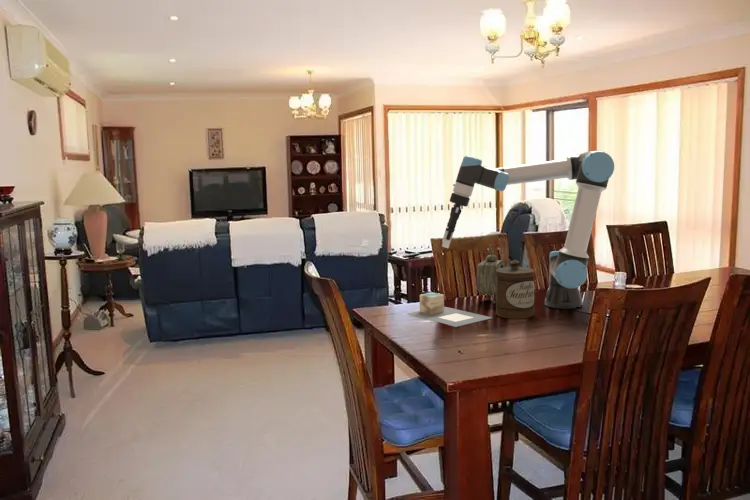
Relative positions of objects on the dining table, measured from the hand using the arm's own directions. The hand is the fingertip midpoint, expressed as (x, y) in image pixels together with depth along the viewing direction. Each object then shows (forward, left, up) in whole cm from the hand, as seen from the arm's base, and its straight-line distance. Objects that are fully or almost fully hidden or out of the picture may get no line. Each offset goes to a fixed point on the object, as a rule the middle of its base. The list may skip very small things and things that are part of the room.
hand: (444, 245), depth 264 cm
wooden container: (-22, -17, -28) cm, 39 cm away
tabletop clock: (+2, -29, -28) cm, 41 cm away
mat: (-6, +4, -28) cm, 29 cm away
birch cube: (+4, +4, -28) cm, 28 cm away
